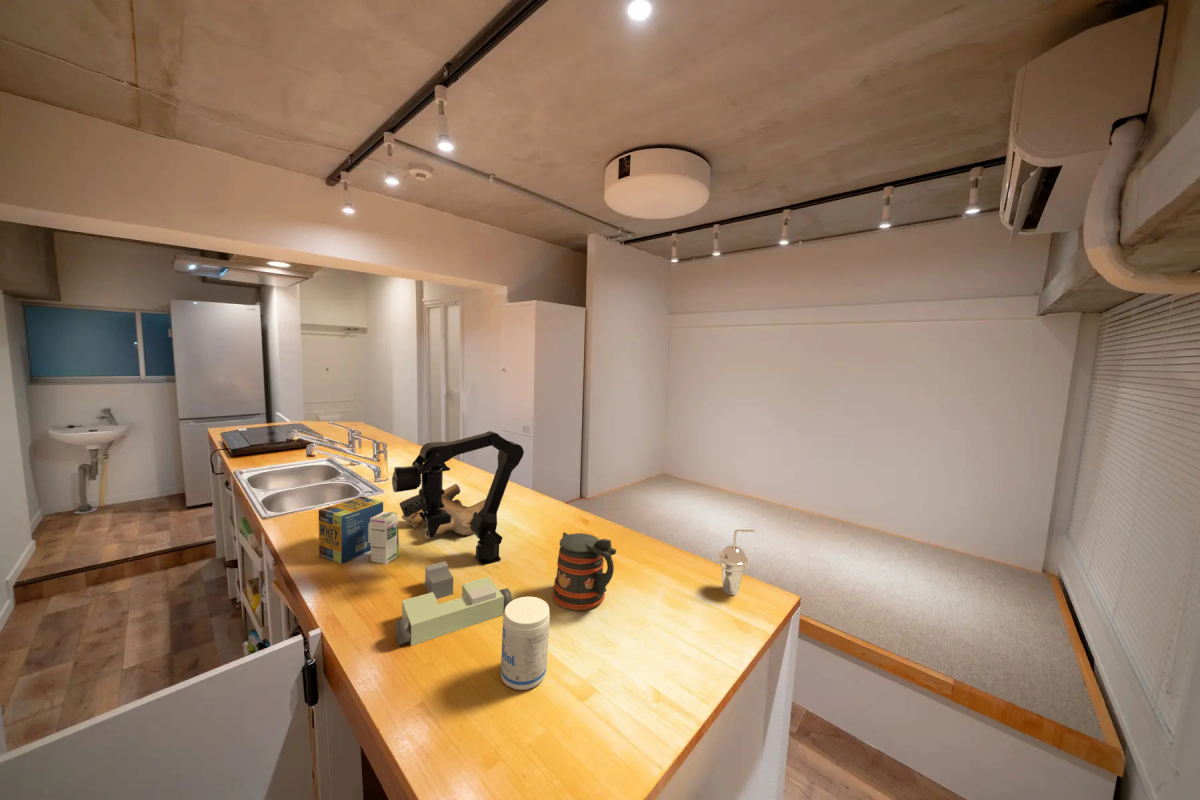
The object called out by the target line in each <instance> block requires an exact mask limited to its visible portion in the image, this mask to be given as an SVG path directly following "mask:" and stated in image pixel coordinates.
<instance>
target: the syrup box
mask: <svg viewBox="0 0 1200 800" xmlns="http://www.w3.org/2000/svg"><path fill="white" fill-rule="evenodd" d="M370 528H371V551H370V561H371V562H373V563H376V564H377V563H379V564H385V565H387V564H388V563H390V562H392V561H393V560H394V559H396V558H398V557H399V556H400V553H399V551H400V550H399V548H400V544H399V513H396V512H394V511H383V512H382V513H380V514H378V515H376V516H374V517H372V518H370Z"/></svg>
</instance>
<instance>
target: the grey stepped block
mask: <svg viewBox="0 0 1200 800" xmlns="http://www.w3.org/2000/svg"><path fill="white" fill-rule="evenodd" d="M424 567H425V568H424V570H425V571H424V572H425V574H424V575H425V576H424V580H425V581H424V587H425V589H426V591H427V594H428V593H431V592H433V593H434V595H435V597H436V599H437V600H439V599H442V598H446V597H449V596H453V595H454V576H453V575H452V574H451V571H450V570H449V564H448V563H447V561H441V562H436V563H433V564H428V565H425V566H424Z"/></svg>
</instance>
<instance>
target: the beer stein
mask: <svg viewBox="0 0 1200 800" xmlns="http://www.w3.org/2000/svg"><path fill="white" fill-rule="evenodd" d="M616 554H617V549H615V548H613V547H612V541H611V539H606V538H602V539H599V538H598V537H597V536H594V535H592V534H588V533H582V532H581V533H579V532H578V533H576V532H575V533H566V532H563V533H562V537H561V538H560V540H559V551H558V557H557V563H556V564H557V571H556V576H555V579H554V582H553V583H554V585H553V586H554V587H553V593H552V595H553V597H552V598H553V601H554V602H555V603H556V605H558V606H559V607H561V608H564V609H565V608H566V609H568V610H572V611H589V610H592V609H594V608H596V607H598V606H600V605H601V603H603V602H604V600H605V595H606V592H607V588H606V587H607V586H608V585H609V583H610V581H611V580H612V578H613V576H614V569H615V568H614V567H615V566H614V561H613V558H612V556H613V555H616ZM605 561H606V566H607V567H606V568H607V569H606V571H605V572H604V563H605Z"/></svg>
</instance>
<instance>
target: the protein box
mask: <svg viewBox="0 0 1200 800" xmlns="http://www.w3.org/2000/svg"><path fill="white" fill-rule="evenodd" d="M382 512H384V501H380V500H377V499H373V498H371V497H366V496H362V495H361V496H358V497H355V498H352V499H348V500H346V501H342V502H340V503H337V504H336V503H335V504H333V505H331V506H328V507H324V508H321V509H318V556H319V557H320V558H323V559H325V560H329V561H331V562H334V563H337V564H340V565H341V564H345V563H347V562H349V561H351V560H353V559H355V558H357V557H360V556H362V555H364V554H367V553H369V552H371V528H370V518H372V517H374V516H376V515H378V514H380V513H382Z"/></svg>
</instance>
